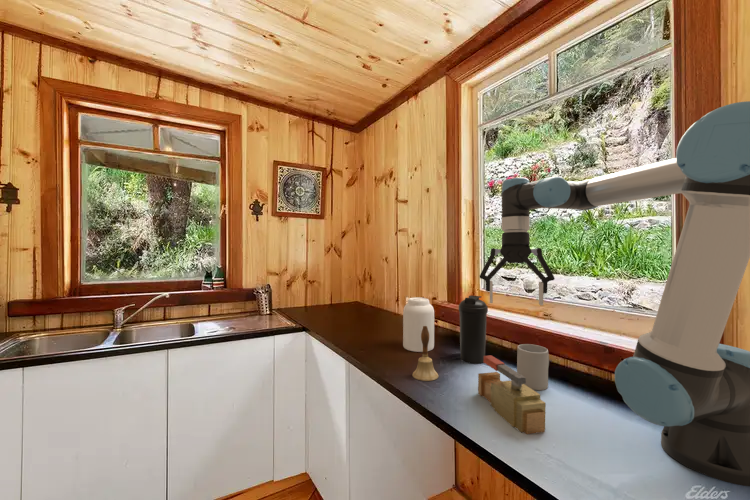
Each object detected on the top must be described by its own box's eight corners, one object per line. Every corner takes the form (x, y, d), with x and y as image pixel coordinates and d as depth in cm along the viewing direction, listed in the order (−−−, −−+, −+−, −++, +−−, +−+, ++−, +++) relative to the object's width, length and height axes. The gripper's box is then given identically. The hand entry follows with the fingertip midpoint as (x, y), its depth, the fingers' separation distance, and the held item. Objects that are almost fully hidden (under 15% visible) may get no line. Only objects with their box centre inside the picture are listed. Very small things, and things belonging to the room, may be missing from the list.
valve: (549, 431, 75) (549, 400, 74) (522, 435, 73) (522, 404, 73) (498, 391, 94) (498, 367, 94) (476, 394, 93) (476, 369, 93)
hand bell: (407, 375, 106) (407, 326, 105) (423, 368, 111) (424, 321, 111) (426, 383, 100) (427, 331, 99) (443, 376, 105) (444, 326, 105)
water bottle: (490, 358, 121) (490, 296, 121) (483, 366, 113) (483, 300, 112) (463, 353, 127) (463, 293, 126) (454, 361, 118) (454, 297, 118)
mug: (536, 393, 93) (537, 354, 93) (510, 382, 101) (511, 346, 100) (560, 383, 100) (561, 347, 99) (534, 373, 107) (534, 340, 107)
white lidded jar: (426, 354, 125) (426, 302, 124) (397, 349, 131) (397, 299, 131) (438, 346, 135) (439, 297, 135) (411, 341, 142) (411, 295, 141)
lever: (526, 391, 79) (526, 376, 79) (517, 392, 78) (517, 377, 78) (491, 367, 94) (491, 355, 94) (483, 368, 93) (483, 355, 93)
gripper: (560, 231, 97) (560, 303, 97) (471, 233, 104) (472, 299, 105) (566, 230, 90) (566, 308, 90) (471, 232, 97) (471, 303, 97)
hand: (515, 303), depth 97 cm, fingers open, 13 cm apart
